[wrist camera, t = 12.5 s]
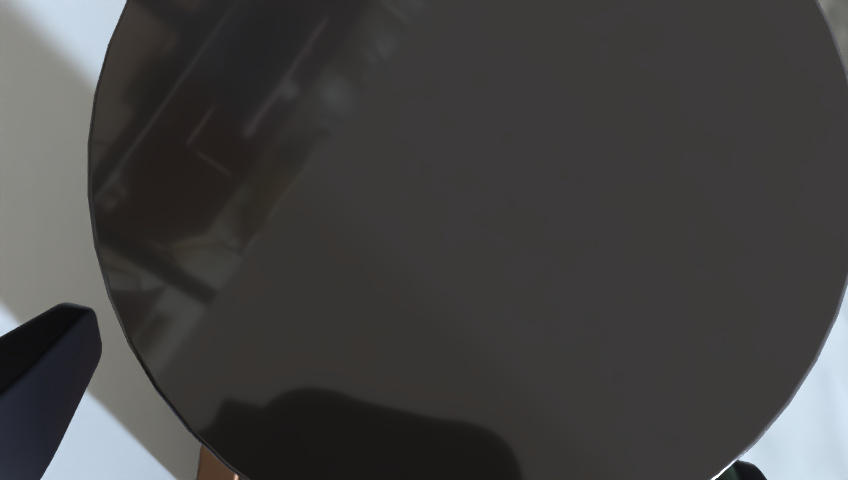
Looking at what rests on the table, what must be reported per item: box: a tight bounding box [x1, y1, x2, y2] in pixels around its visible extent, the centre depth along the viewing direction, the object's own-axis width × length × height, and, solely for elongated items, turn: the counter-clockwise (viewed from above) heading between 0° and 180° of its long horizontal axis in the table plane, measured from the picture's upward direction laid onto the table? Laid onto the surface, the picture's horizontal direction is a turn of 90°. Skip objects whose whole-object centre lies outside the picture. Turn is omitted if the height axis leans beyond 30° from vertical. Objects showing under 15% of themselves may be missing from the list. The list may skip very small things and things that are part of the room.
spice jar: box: [88, 0, 848, 480], centre depth 12 cm, size 6×6×13 cm
